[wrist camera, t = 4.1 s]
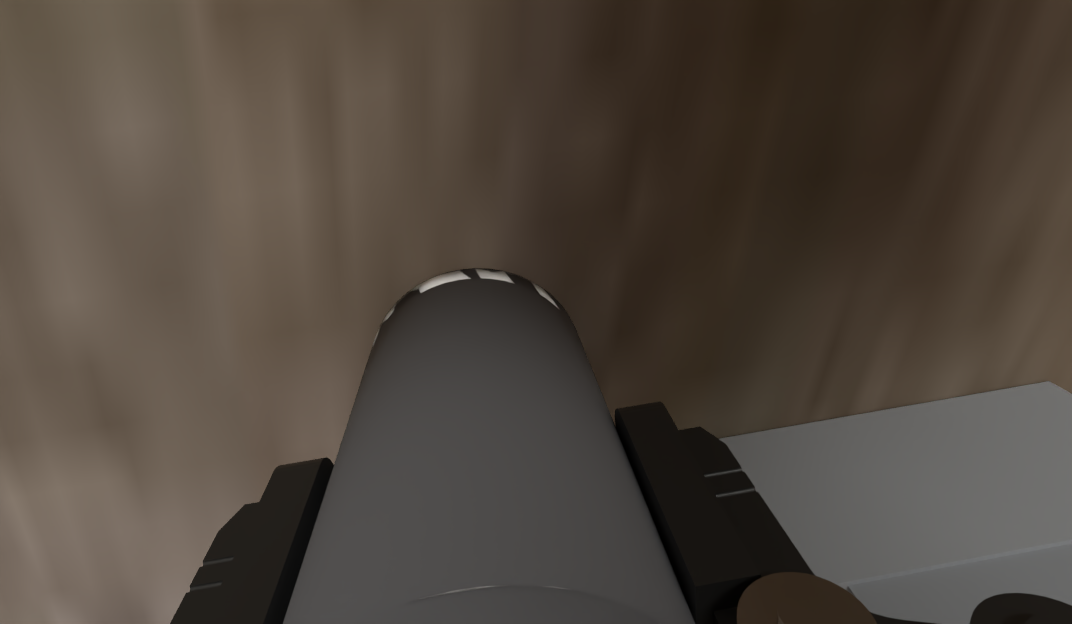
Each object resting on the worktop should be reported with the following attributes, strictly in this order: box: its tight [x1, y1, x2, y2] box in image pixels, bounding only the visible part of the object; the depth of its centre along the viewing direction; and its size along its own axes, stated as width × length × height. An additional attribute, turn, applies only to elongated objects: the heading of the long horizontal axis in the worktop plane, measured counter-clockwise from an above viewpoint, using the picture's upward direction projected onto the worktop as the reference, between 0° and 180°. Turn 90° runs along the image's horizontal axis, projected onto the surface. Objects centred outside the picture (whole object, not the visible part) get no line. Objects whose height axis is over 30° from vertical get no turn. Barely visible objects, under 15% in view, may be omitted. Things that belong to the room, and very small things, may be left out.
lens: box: [283, 268, 695, 624], centre depth 10 cm, size 5×5×8 cm
